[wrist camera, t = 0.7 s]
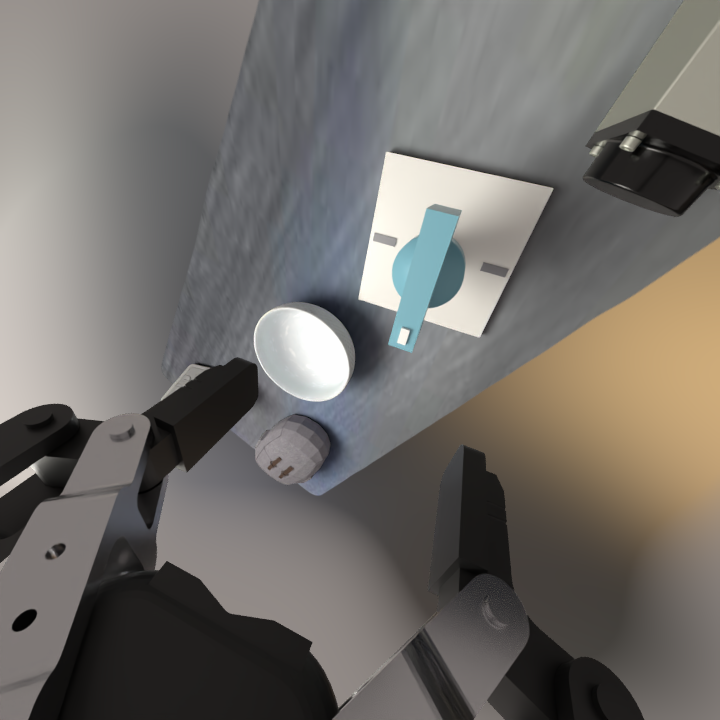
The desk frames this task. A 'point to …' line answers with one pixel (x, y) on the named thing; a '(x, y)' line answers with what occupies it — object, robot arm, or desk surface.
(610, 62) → the desk surface
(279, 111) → the desk surface
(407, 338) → the blue switch lever
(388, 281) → the base plate
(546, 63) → the desk surface
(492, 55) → the desk surface
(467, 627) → the robot arm
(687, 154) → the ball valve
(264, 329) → the cereal bowl
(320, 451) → the small grey backpack
